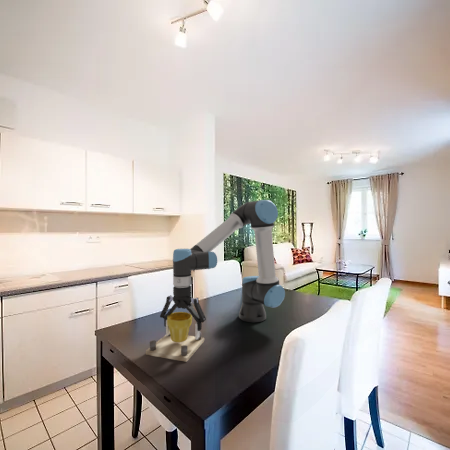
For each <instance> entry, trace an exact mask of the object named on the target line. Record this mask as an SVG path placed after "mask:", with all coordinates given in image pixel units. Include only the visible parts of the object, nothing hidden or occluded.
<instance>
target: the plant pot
mask: <svg viewBox="0 0 450 450" xmlns="http://www.w3.org/2000/svg"><path fill="white" fill-rule="evenodd" d="M192 323H193V316H192V315H191V313H190V312H187V311H186V312H185V311H174V312H173V313H172V314H171V315H169V316H168V317H167V325H168V326H169V330H170V335H171V340H172V341H174V342H183V341H185V340H187V337H188V335H189V332H190V327H191V326H192Z"/></svg>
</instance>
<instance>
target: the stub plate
mask: <svg viewBox="0 0 450 450" xmlns="http://www.w3.org/2000/svg"><path fill="white" fill-rule="evenodd" d="M204 343H205V337H202V330H200V337H199V338H198V339H197V340H196V339H195V336H194V335H189V334H188V337H187V340H185V341H183V342H174V341H172V340H171V335H170V334H169V335H168V336H167V335H166V334H165V335H164V336H162V337H161V338H160V339H158V341H156V340H150V341H149V347H148V349H147V348H146V350H145V355H146V356H152V357H156V358H162V359H167V360H168V359H169V360H172V361H181V362H188V361H189V360H190V359H191V357H192V356H193V355H194V354H195V352H197V350H198V349H199V348H200V347H201V346H202V345H203V344H204Z"/></svg>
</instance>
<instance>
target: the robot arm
mask: <svg viewBox="0 0 450 450" xmlns="http://www.w3.org/2000/svg"><path fill="white" fill-rule="evenodd" d="M278 215H279V211H278V208H277V206H276V204H275V203H273V201H272V200H268V199H260V200H253V201H248V202H247V201H246V202H245V203H243V204H241V205H240V206H239V207H238V208H236V209H235V210H234V211H232V212H231V213H230V214H229V217H228V218H226V220H224V221H223V222H222V223H221V224H219V225H218V226H217V227H216V228H214V229H213V230H212V231H211V232H210V233H208V234H206V236H205V237H204V238H202V239H201V240H200V241H199V242H197V243H196V244H195V245H193V246H192V247H191V248H177V249H174V250H173V252H172V254H173V255H172V273H173V274H172V285H173V287H172V289H173V290H172V292H173V296H172V295H168V296H167V297H166V301H165V303H164V306H163V308H162V311H161V312H160V315H159V318H161V319H163V321H164V323H163V326H164V327H165V335H167V336H168V335H169V334H170V330H169V326H168V325H167V317H168V316H169V315H171V314H172V313H174V312H175V310H176V309H177V308H178V309H183V310H185V309H186V310H187V311H188V313H190V314H191V315H192V319H194V321H195V326H194V328H195V329H194V330H195V331H194V333H195V334H194V335H195V339H196V340H197V339H198V338H199V337H200V331H202V326H203V325H202V323H204V322H205V321H206V320H207V318H206V316H205V314H204V311H203V309H202V307H201V304H200V301H199V300H200V299H199V297H196V298H195V297H194V298H193V297H192V271H201V270H210V269H215V268H216V267H217V265H218V256H217V254H216V252H214V251H213V250H215V249H216V248H217V247H218V246H220V245H221V244H222V243H223V242H224V241H225V240H226V239H228V238H229V237H230V236H231V235H232V234H233V233H235V232H236V231H237V230H238V229H242V228H244V227H245V226H246V225H250V228H251V229H252V230H253V231H254V238H255V239H254V242H255V250H256V262H257V263H256V264H257V270H258V273H257V274H258V275H249V276H245V277H242V280H241V281H242V282H241V291H242V292H241V298H242V299H241V300H242V301H241V306H240V309H239V313H238V318H239V319H240V320H241V321H243V322H247V323H261V322H264V321H265V320H267V312H266V309H265V307H267V308H278V307H279V306H281V304H282V302H283V301H284V300H285V297H286V291H285V287H283V286H282V285H281V284H280V279H279V277H278V276H276V275H277V274H276V264H275V254H274V253H275V251H274V245H273V243H274V242H273V231H272V229H273V228H274V227H275V222H276V221H277V219H278ZM172 302H173V303H174V304H173V305H172V306H171V303H172ZM264 305H265V306H264ZM170 306H171V308H170ZM169 308H170V309H169Z"/></svg>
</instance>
